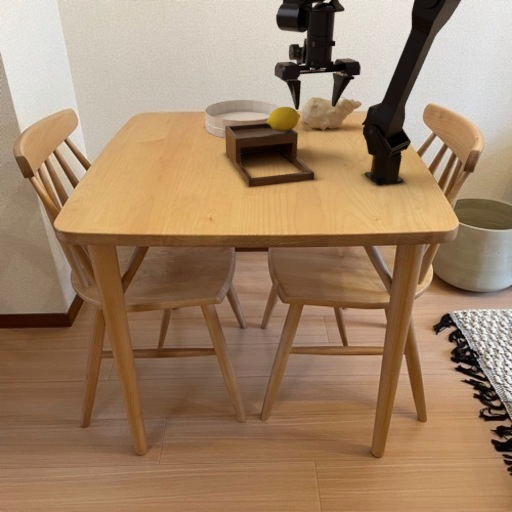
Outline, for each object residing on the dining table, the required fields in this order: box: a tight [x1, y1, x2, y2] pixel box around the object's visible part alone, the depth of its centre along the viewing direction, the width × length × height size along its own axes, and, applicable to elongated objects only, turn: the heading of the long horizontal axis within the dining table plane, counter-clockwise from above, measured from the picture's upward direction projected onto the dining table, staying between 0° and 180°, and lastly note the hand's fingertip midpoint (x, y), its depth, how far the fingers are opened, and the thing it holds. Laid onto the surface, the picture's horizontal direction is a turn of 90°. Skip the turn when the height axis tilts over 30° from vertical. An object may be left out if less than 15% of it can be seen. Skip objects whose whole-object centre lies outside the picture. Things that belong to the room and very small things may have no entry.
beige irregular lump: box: [300, 96, 363, 131], centre depth 136 cm, size 15×7×15 cm
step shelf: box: [225, 123, 315, 187], centre depth 111 cm, size 21×15×7 cm
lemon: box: [267, 106, 301, 132], centre depth 112 cm, size 6×6×8 cm
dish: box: [204, 99, 281, 139], centre depth 137 cm, size 22×22×5 cm
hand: (315, 108), depth 111 cm, fingers open, 9 cm apart
